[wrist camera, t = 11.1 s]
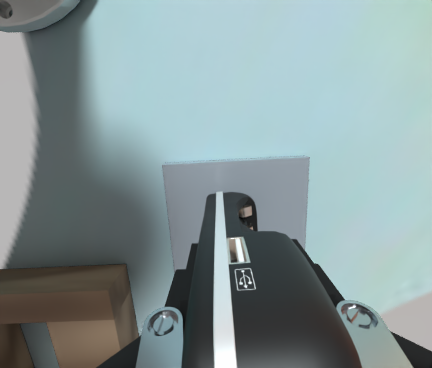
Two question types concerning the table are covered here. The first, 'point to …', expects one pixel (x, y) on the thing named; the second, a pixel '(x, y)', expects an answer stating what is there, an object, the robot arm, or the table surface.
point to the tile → (242, 183)
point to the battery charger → (257, 298)
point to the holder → (67, 313)
